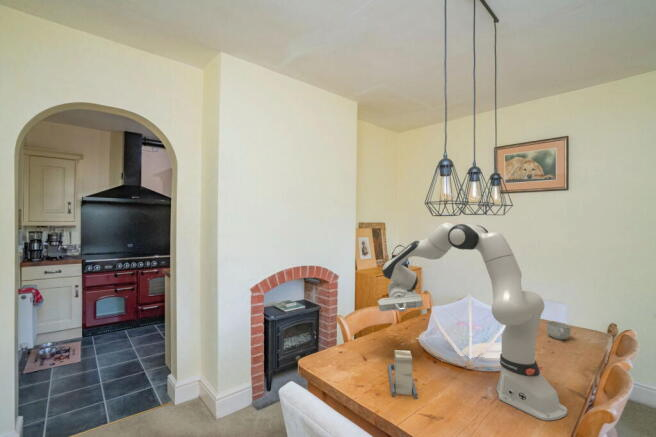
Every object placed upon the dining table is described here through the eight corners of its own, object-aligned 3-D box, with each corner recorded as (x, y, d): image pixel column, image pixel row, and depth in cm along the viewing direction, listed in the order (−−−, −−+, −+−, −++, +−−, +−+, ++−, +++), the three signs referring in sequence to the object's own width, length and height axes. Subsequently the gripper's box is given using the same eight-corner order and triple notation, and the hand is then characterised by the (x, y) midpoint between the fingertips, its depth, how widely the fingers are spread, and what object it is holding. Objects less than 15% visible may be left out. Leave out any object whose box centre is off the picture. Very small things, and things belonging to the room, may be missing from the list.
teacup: (547, 332, 185) (547, 319, 185) (570, 337, 178) (570, 323, 178) (546, 340, 173) (546, 325, 173) (571, 345, 167) (571, 330, 167)
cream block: (394, 385, 124) (394, 350, 124) (409, 386, 124) (410, 350, 123) (395, 393, 118) (396, 356, 118) (411, 394, 118) (412, 357, 118)
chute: (386, 370, 138) (386, 363, 138) (410, 372, 137) (410, 365, 137) (390, 399, 116) (390, 391, 116) (418, 401, 115) (418, 393, 115)
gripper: (376, 294, 154) (377, 306, 141) (418, 289, 152) (424, 301, 138) (378, 306, 155) (379, 319, 142) (420, 302, 153) (426, 314, 139)
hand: (402, 310), depth 140 cm, fingers closed
